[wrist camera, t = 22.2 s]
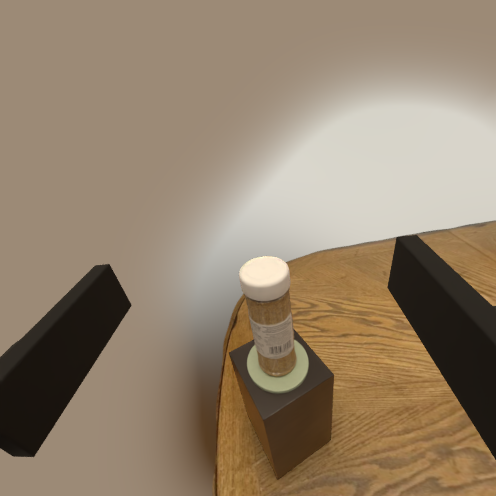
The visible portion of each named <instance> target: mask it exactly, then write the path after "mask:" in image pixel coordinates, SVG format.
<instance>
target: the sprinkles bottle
mask: <svg viewBox="0 0 496 496" xmlns="http://www.w3.org/2000/svg"><path fill="white" fill-rule="evenodd" d="M239 277H240V283H241V288H242V291H243V293H244V295H245V297H246V301H247V306H248V314H249V318H250V323H251V327H252V332H253V337H254V342H255V346H256V349H257V353H258V362H259V366H260V367H261V369H262V370H263V371H264V372H265V373H267V374H268V375H271V376H275V377H279V376H283V375H286V374H288V373H289V372H291V371H292V370H293V368H294V366H295V364H296V360H297V357H296V353H295V347H294V329H293V319H292V312H291V305H290V295H289V288H290V274H289V268H288V265H287V264H286V263H285V262H284V261H283V260H281V259H279V258H276V257H271V256H264V257H258V258H255V259H252V260H250V261H248V262H247V263H245V264H244V265H243V267H242V268H241V270H240V272H239Z"/></svg>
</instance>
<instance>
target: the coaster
mask: <svg viewBox="0 0 496 496" xmlns="http://www.w3.org/2000/svg"><path fill="white" fill-rule="evenodd" d="M294 347H295V353H296V357H297V360H296V364H295V366H294V368H293V370H292V371H291V372H289V373H288V374H286V375H283V376H279V377H275V376H271V375H268V374H267V373H265V372H264V371H263V370H262V369H261V367H260V366H259V362H258V353H257V349H256V346H255V345H254V346H253V347H252V349H251V350H250V352H249V355H248V358H247V368H248V372H249V375H250V377H251V379H252V381H253V382H254V383H255V384H256V385H257V386H258V387H259V388H261V389H262V390H264V391H267V392H270V393H277V394H280V393H287V392H290V391H292V390H294V389H296V388H297V387H298V386H300V385H301V384H302V382H303V381H304V380H305V378H306V376H307V373H308V369H309V361H308V356H307V353H306V351H305V349H304V348H303V347H302V345H301V344H300V343H298V342H297V341H296V340H294Z"/></svg>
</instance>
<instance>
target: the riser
mask: <svg viewBox="0 0 496 496" xmlns="http://www.w3.org/2000/svg"><path fill="white" fill-rule="evenodd" d="M294 340H296V341H297V342H298V343H300V344H301V345H302V347H303V348H304V349H305V351H306V353H307V356H308V361H309V369H308V373H307V376H306V378H305V380H304V381H303V382H302V384H301V385H300V386H298V387H297V388H296V389H294V390H292V391H290V392H287V393H280V394H277V393H270V392H267V391H264V390H262V389H261V388H259V387H258V386H257V385H256V384H255V383H254V382H253V381H252V379H251V377H250V375H249V372H248V368H247V358H248V355H249V352H250V350H251V349H252V347H253V346H254V345H255V342H254V340H252V341H250V342H248V343H246V344H245V345H243V346H241V347H239V348H237V349H235V350H233V351H231V352H229V354H230V358H231V361H232V364H233V368H234V371H235V374H236V378H237V381H238V384H239V387H240V391H241V394H242V397H243V401H244V404H245V407H246V411H247V414H248V417H249V419H250V421H251V423H252V425H253V427H254V430H255V432H256V434H257V436H258V438H259V440H260V443H261V445H262V447H263V449H264V451H265V454H266V456H267V458H268V460H269V462H270V464H271V467H272V469H273V471H274V473H275V475H276V477H277V479H279V478H281V477H282V476H283V475H285V474H286V473H287V472H289V471H290V470H291V469H293V468H294V467H295V466H297V465H298V464H299V463H301V462H302V461H303V460H305V459H306V458H307V457H309V456H310V455H311V454H313V453H314V452H315V451H317V450H318V449H319V448H321V447H322V446H323V445H325V444H326V443H327V442H329V441H330V440H331V427H332V406H333V384H334V374H333V373H332V372H331V371H330V370H329V369H328V367H327V366H326V365H325V364H324V363H323V362H322V361H321V359H320V358H319V357H318V356H317V355H316V354H315V353H314V351H313V350H312V349H311V348H310V347H309V346H308V345H307V343H306V342H305V341H304V340H303V339H302V338H301V337H300V335H299V334H298V333H297V332H296V331H295V330H294Z"/></svg>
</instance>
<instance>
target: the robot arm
mask: <svg viewBox="0 0 496 496" xmlns="http://www.w3.org/2000/svg"><path fill="white" fill-rule="evenodd" d="M388 289H389V291H390V292H391V294H392V296H393V297H394V299H395V300H396V302H397V303H398V305H399V307H400V308H401V310H402V311H403V313H404V315H405V316H406V318H407V319H408V321H409V323H410V324H411V326H412V327H413V329H414V331H415V332H416V334H417V335H418V337H419V338H420V340H421V342H422V343H423V345H424V346H425V348H426V350H427V351H428V353H429V354H430V356H431V358H432V359H433V361H434V362H435V364H436V366H437V367H438V369H439V370H440V372H441V374H442V375H443V377H444V378H445V380H446V381H447V383H448V385H449V386H450V388H451V389H452V391H453V393H454V394H455V396H456V397H457V399H458V401H459V402H460V404H461V405H462V407H463V409H464V410H465V412H466V413H467V415H468V416H469V418H470V420H471V421H472V423H473V424H474V426H475V428H476V429H477V431H478V432H479V434H480V436H481V437H482V439H483V440H484V442H485V444H486V445H487V447H488V448H489V450H490V451H491V453H492V455H493V456H494V458H495V459H496V306H492V305H491V304H490V303H489V302H488V301H487V300H486V299H484V298H483V297H482V296H481V295H480V294H479V293H478V292H477V291H476V290H475V289H474V288H473V287H472V286H471V285H469V284H468V283H467V282H466V281H465V280H464V279H463V278H462V277H461V276H460V275H459V274H458V273H457V272H455V271H454V270H453V269H452V268H451V267H450V266H449V265H448V264H447V263H446V262H445V261H444V260H443V259H442V258H440V257H439V256H438V255H437V254H436V253H435V252H434V251H433V250H432V249H431V248H430V247H429V246H428V245H427V244H425V243H424V242H423V241H422V240H421V239H420V238H419V237H418V236H417V235H413V236H403V237H397V238H396V244H395V249H394V255H393V260H392V266H391V271H390V277H389V282H388ZM130 307H131V303H130V301H129V300H128V298H127V296H126V294H125V292H124V290H123V288H122V287H121V285H120V283H119V281H118V279H117V277H116V275H115V274H114V272H113V270H112V268H111V266H110V265H109V264H106V265H96V266H94V267H93V268H92V269H91V270H90V271H89V272H88V273H87V274H86V275H85V276H84V277H83V278H82V279H81V280H80V281H79V282H78V283H77V284H76V285H75V286H74V287H73V288H72V289H71V290H70V291H69V292H68V293H67V294H66V295H65V296H64V297H63V298H62V299H61V300H60V301H59V302H58V303H57V304H56V305H55V306H54V307H53V308H52V309H51V310H50V311H49V312H48V313H47V314H46V315H45V316H44V317H43V318H42V319H41V320H40V321H39V322H38V323H37V324H36V325H35V326H34V327H33V328H32V329H31V330H30V331H29V332H28V333H27V334H26V335H25V336H24V337H23V338H22V339H20V340H19V341H17V342H16V343H15V344H14V345H12V346H11V347H10V348H9V349H8V350H7V351H6V352H5V353H4V354H3V355H2V356H1V357H0V448H1V449H2V450H4V451H6V452H7V453H9V454H10V455H12V456H18V457H34V456H35V454H36V453H37V451H38V450H39V448H40V447H41V445H42V444H43V442H44V440H45V439H46V437H47V436H48V434H49V433H50V431H51V430H52V428H53V427H54V425H55V423H56V422H57V420H58V419H59V417H60V416H61V414H62V413H63V411H64V409H65V408H66V406H67V405H68V403H69V402H70V400H71V399H72V397H73V395H74V394H75V392H76V391H77V389H78V388H79V386H80V385H81V383H82V382H83V380H84V378H85V377H86V375H87V374H88V372H89V371H90V369H91V368H92V366H93V364H94V363H95V361H96V360H97V358H98V357H99V355H100V354H101V352H102V350H103V349H104V347H105V346H106V344H107V343H108V341H109V340H110V338H111V337H112V335H113V333H114V332H115V330H116V329H117V327H118V326H119V324H120V322H121V321H122V319H123V318H124V316H125V315H126V313H127V312H128V310H129V309H130Z"/></svg>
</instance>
